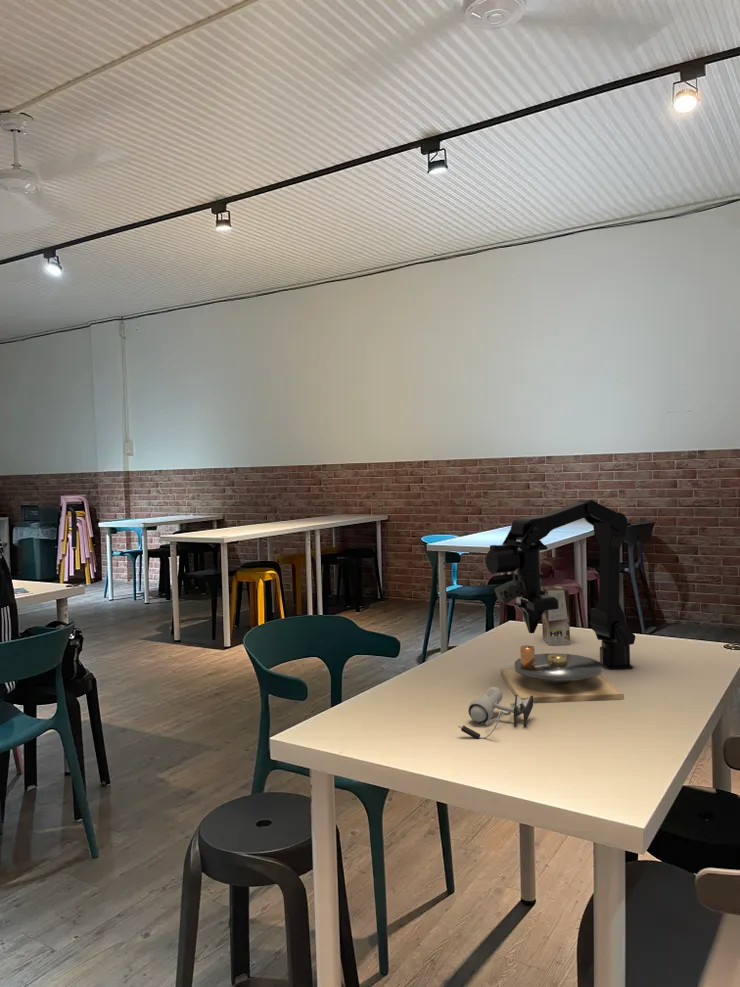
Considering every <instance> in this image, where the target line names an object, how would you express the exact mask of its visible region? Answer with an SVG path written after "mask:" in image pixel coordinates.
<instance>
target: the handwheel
mask: <svg viewBox="0 0 740 987" xmlns="http://www.w3.org/2000/svg"><path fill="white" fill-rule="evenodd" d="M519 654H520V658H518V659H516V660H515V661H514V669H515V671H516V672H517V673H519V674H521V675H523V676H526V677H529V678H533V679H538V680H545V681H560V682H567V681H581V680H587V679H591V678H594V677H597V676H599V675H600V674H601V675H602V672H603V665H602V664H601V663H600V661H599V660H596V659H594V658H591V657H588V656H585V655H584V656H583V655H577V654H570V653H569V654H568V653H559V652H558V653H537V654H535V646H534V645H527V644H526V645H521V646H520V652H519Z"/></svg>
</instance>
